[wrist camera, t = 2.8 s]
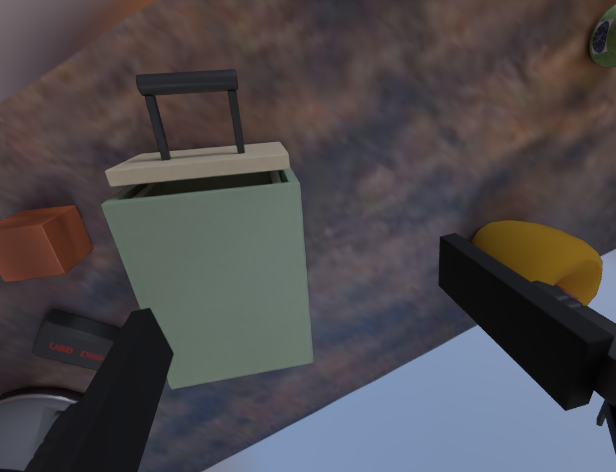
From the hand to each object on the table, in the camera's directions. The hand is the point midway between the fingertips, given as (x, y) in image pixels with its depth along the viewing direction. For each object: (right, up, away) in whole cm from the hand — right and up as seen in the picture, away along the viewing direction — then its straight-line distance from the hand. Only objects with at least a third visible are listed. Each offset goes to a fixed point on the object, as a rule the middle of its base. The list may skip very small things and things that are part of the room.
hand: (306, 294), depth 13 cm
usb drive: (-26, -10, +24) cm, 37 cm away
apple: (+25, +2, +28) cm, 37 cm away
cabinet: (-9, +1, +22) cm, 23 cm away
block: (-26, +3, +17) cm, 31 cm away
